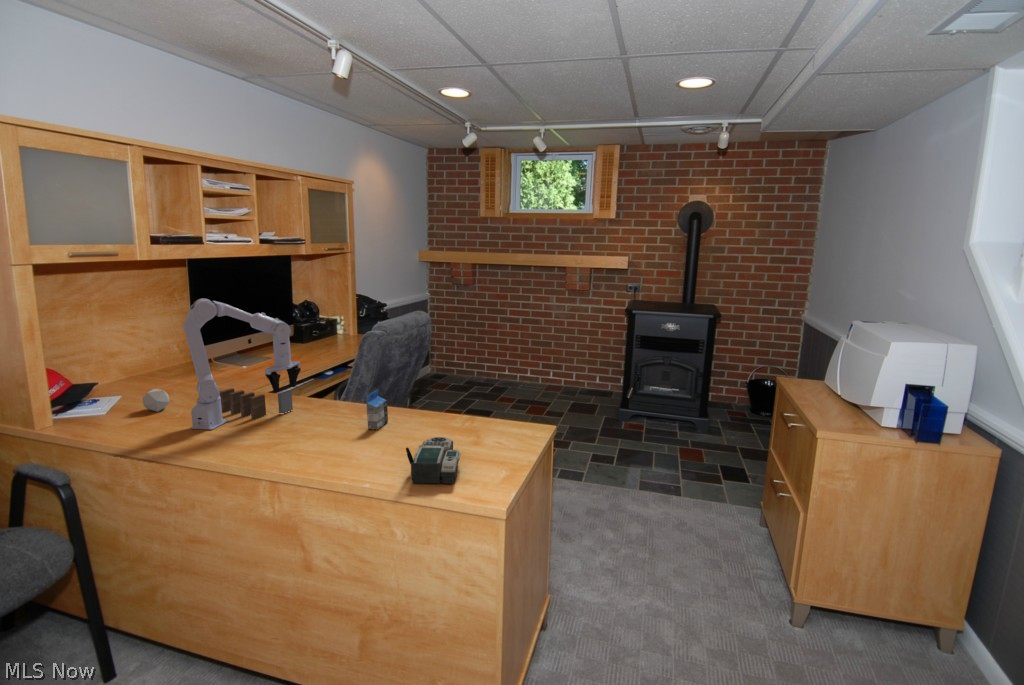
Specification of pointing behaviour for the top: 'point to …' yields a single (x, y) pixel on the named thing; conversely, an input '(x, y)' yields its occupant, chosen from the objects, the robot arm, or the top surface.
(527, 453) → the top surface
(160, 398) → the die
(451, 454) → the communication device
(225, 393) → the domino
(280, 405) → the domino
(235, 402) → the domino
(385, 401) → the label tape box
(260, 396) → the domino
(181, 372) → the top surface
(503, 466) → the top surface
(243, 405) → the domino
